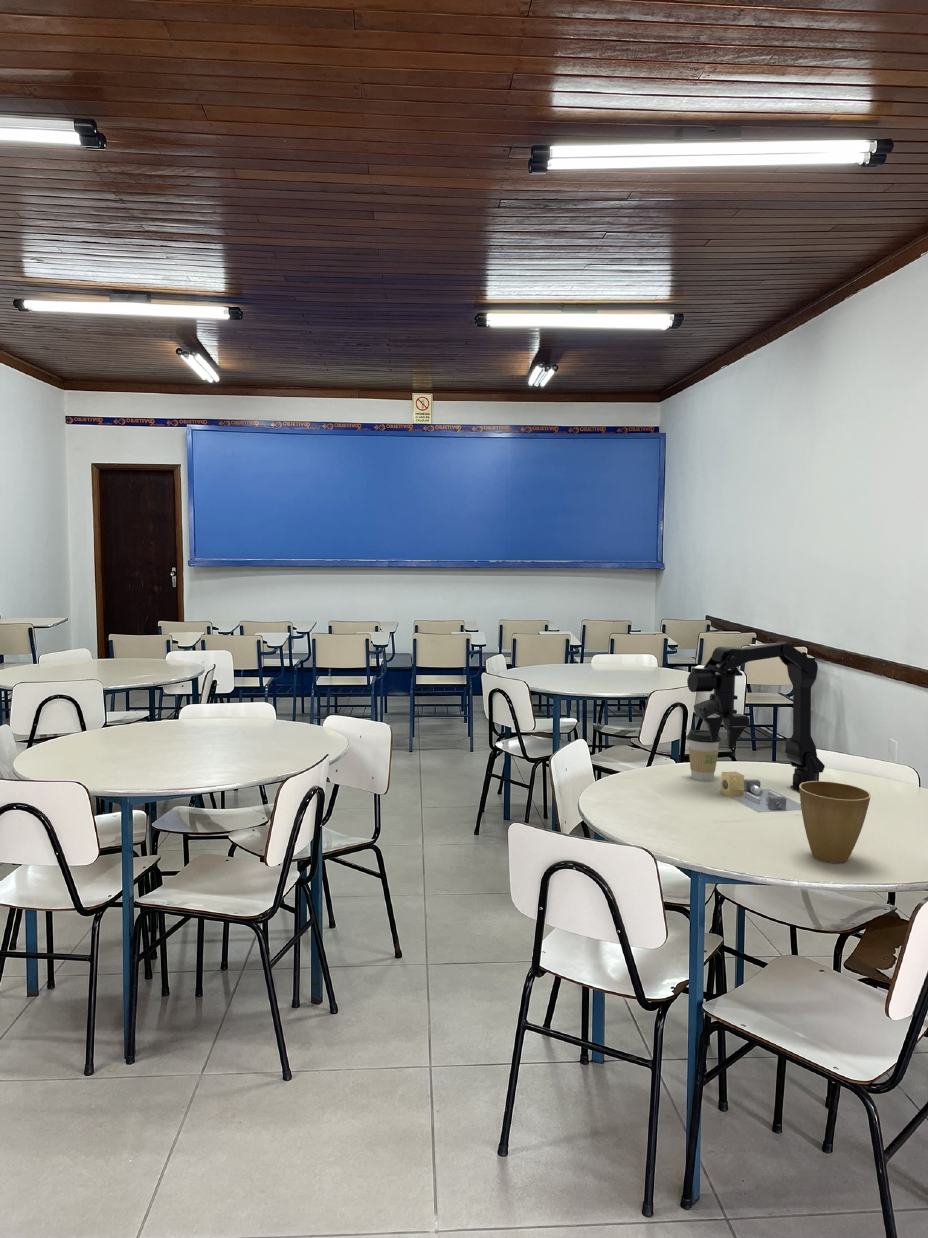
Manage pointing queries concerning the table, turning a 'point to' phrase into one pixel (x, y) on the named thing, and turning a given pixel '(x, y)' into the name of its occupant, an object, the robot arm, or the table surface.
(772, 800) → the shaft
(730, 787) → the block
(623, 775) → the table surface
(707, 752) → the coffee cup
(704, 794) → the table surface
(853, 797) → the plant pot
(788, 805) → the grey base plate
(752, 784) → the shaft
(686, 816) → the table surface
